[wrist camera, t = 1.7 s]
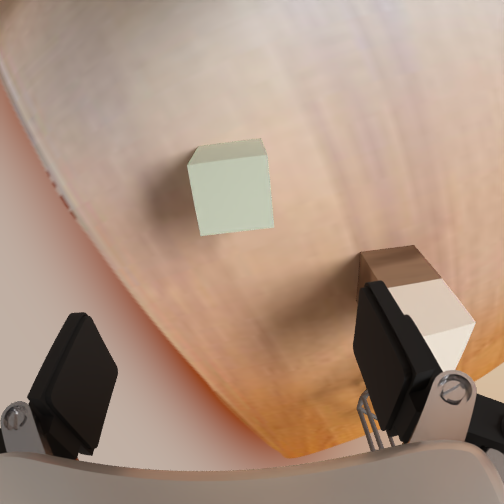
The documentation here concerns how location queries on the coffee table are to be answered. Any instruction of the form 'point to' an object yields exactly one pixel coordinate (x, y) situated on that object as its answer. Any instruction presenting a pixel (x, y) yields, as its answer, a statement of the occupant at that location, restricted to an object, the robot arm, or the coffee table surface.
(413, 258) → the walnut block
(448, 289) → the cream block
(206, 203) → the sage block
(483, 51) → the coffee table surface
